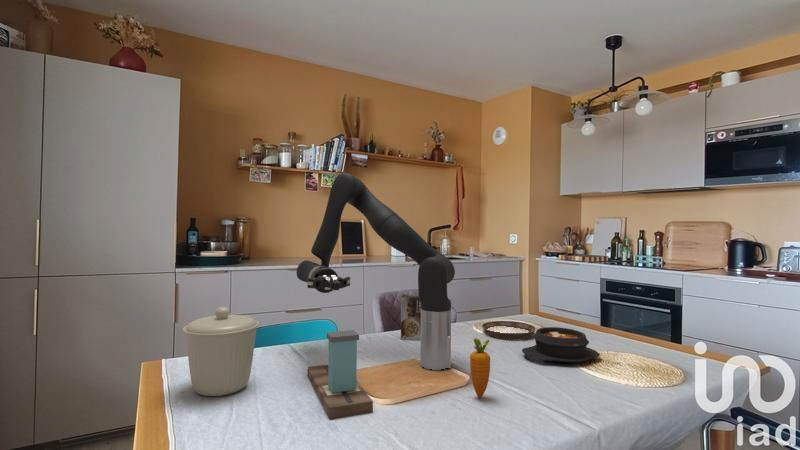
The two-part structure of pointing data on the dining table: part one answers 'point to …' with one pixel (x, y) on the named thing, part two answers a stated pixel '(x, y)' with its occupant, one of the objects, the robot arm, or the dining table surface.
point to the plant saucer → (509, 324)
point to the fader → (342, 360)
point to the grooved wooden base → (338, 396)
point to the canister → (220, 352)
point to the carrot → (480, 367)
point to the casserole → (560, 346)
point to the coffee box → (410, 317)
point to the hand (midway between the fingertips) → (336, 286)
